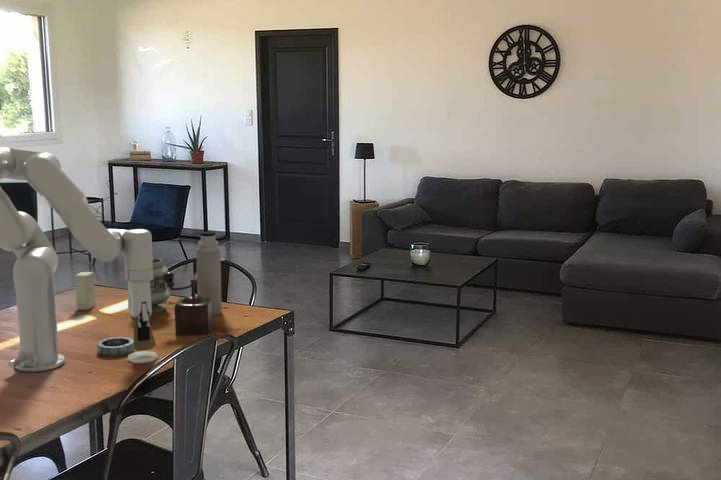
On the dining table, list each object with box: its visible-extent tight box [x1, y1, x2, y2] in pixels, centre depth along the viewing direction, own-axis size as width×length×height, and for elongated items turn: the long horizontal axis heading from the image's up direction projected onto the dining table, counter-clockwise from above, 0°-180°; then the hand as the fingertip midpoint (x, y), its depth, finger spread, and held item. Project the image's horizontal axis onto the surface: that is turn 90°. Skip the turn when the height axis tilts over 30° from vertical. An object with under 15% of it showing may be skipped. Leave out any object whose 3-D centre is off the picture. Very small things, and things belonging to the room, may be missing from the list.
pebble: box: [127, 350, 158, 364], centre depth 212 cm, size 8×8×1 cm
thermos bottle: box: [195, 231, 223, 316], centre depth 256 cm, size 8×8×28 cm
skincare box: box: [74, 271, 96, 311], centre depth 262 cm, size 6×4×12 cm
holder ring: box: [96, 336, 135, 357], centre depth 218 cm, size 10×10×2 cm
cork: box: [130, 314, 157, 352], centre depth 211 cm, size 6×6×11 cm
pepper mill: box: [162, 271, 213, 336], centre depth 238 cm, size 16×11×18 cm
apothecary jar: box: [150, 257, 171, 316], centre depth 258 cm, size 12×12×18 cm
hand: (142, 337), depth 211 cm, fingers closed on cork, 4 cm apart
